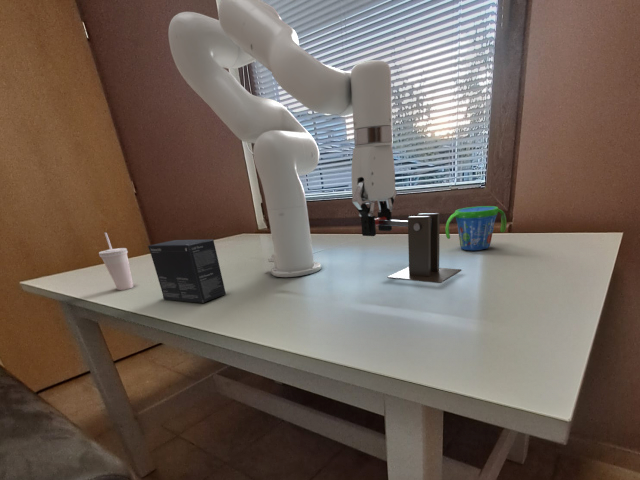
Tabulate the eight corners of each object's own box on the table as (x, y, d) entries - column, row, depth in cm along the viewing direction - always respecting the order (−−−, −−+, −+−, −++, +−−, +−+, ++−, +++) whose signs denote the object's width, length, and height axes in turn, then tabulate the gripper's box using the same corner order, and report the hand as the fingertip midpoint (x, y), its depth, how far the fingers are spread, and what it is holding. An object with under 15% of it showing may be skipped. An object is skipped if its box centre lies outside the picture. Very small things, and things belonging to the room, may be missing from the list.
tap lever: (367, 229, 80) (367, 217, 79) (381, 225, 84) (381, 214, 83) (423, 233, 73) (424, 220, 72) (436, 228, 77) (436, 216, 75)
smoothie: (131, 283, 102) (113, 230, 96) (143, 285, 99) (125, 230, 93) (107, 290, 98) (86, 234, 92) (119, 292, 94) (98, 235, 88)
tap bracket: (387, 282, 80) (384, 219, 74) (410, 270, 86) (409, 212, 81) (440, 288, 72) (441, 218, 67) (461, 275, 79) (463, 211, 74)
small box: (227, 294, 83) (214, 238, 78) (203, 304, 78) (188, 245, 73) (187, 290, 89) (173, 238, 84) (162, 299, 84) (146, 245, 79)
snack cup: (449, 254, 97) (450, 213, 93) (441, 247, 107) (441, 209, 103) (511, 249, 96) (515, 207, 92) (498, 242, 106) (500, 203, 101)
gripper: (380, 141, 83) (383, 226, 90) (331, 141, 71) (339, 239, 78) (411, 137, 78) (411, 227, 86) (363, 136, 66) (369, 241, 74)
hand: (377, 232), depth 82 cm, fingers closed on tap lever, 5 cm apart
